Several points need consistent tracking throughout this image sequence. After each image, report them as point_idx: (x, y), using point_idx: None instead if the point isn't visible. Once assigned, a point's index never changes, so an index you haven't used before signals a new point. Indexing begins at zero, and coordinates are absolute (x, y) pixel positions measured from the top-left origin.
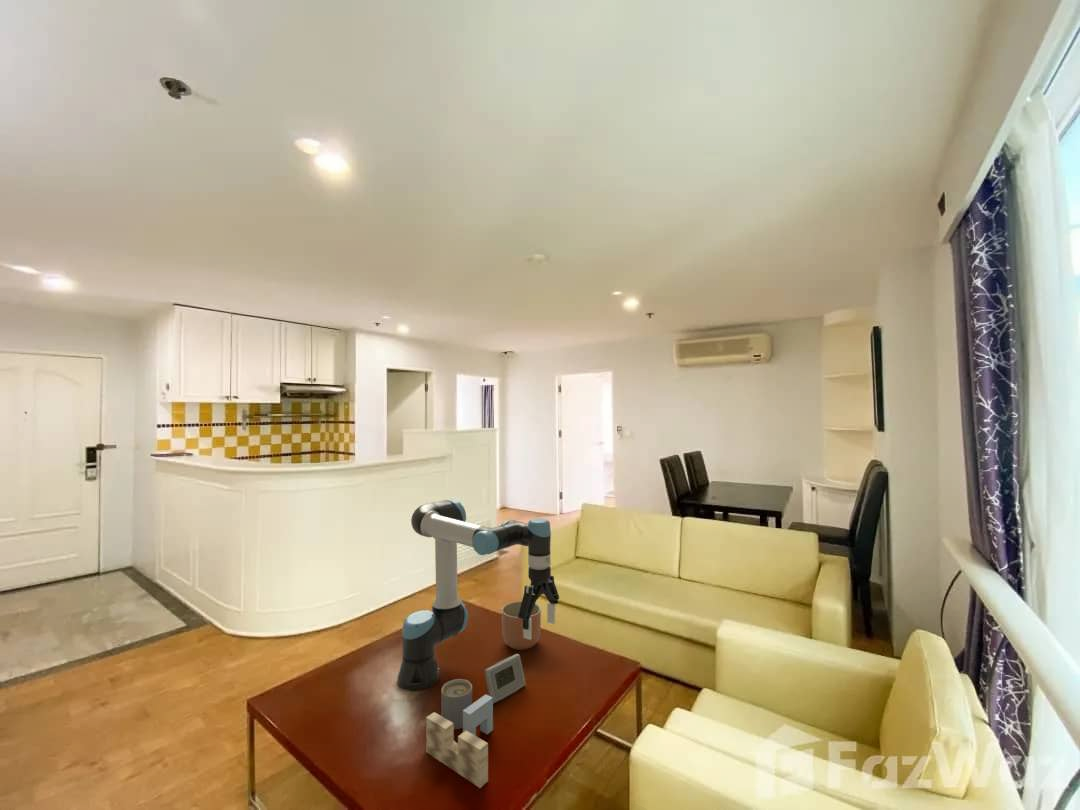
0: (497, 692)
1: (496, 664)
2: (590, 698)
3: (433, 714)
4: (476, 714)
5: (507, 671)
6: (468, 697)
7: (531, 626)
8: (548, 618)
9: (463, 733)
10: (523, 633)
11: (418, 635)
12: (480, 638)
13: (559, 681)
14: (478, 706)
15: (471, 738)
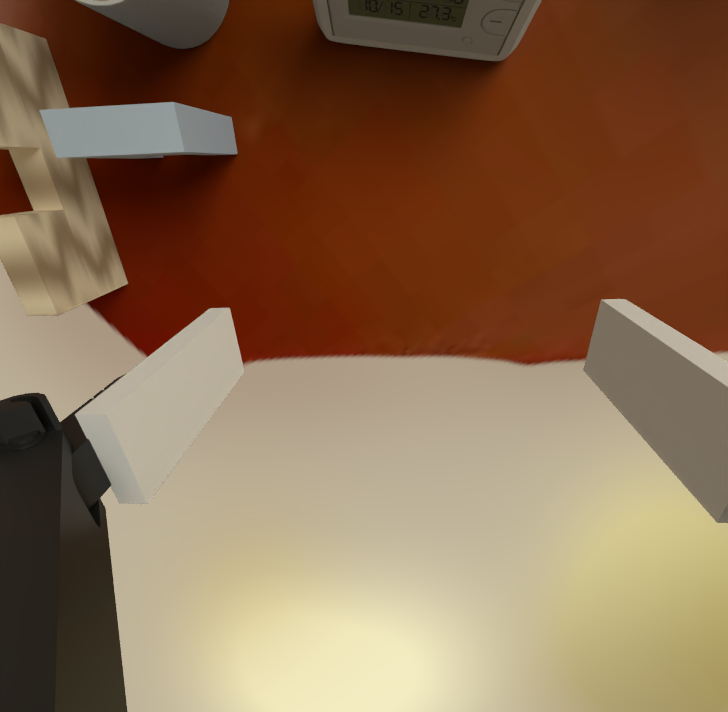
0: (345, 22)
1: None
2: (551, 316)
3: None
4: (105, 156)
5: None
6: (128, 13)
7: (197, 435)
8: (617, 328)
9: (1, 222)
10: (191, 323)
11: None
12: None
13: (606, 166)
14: (106, 146)
15: (19, 261)
